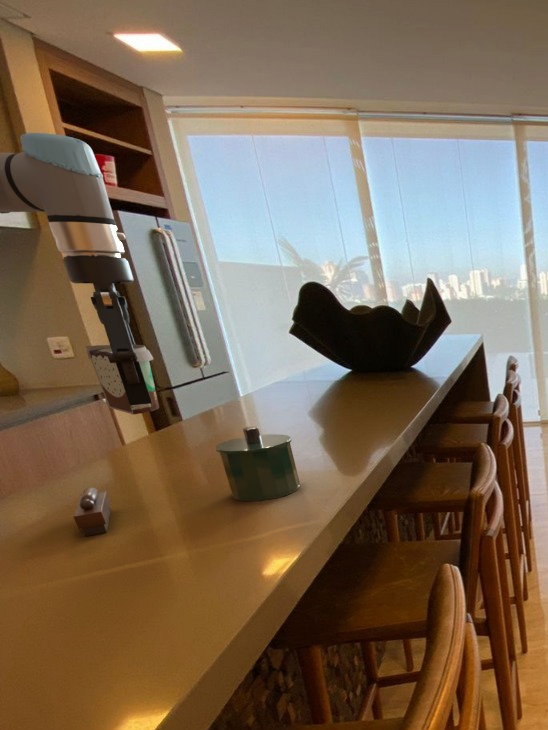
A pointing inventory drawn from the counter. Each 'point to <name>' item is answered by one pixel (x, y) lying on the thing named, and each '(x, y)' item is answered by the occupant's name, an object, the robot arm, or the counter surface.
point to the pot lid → (253, 442)
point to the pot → (261, 474)
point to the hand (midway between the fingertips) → (141, 398)
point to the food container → (112, 379)
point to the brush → (93, 512)
